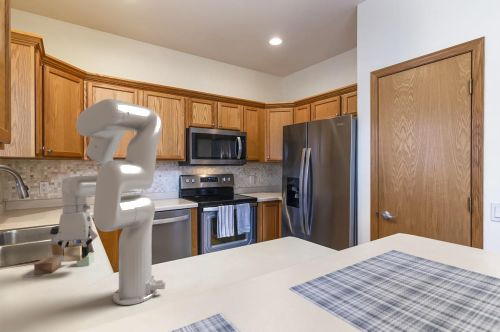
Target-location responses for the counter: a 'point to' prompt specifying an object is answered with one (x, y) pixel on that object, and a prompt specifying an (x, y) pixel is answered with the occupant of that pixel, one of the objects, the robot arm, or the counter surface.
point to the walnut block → (47, 265)
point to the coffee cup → (56, 248)
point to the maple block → (73, 252)
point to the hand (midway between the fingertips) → (76, 257)
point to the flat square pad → (36, 274)
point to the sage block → (86, 260)
